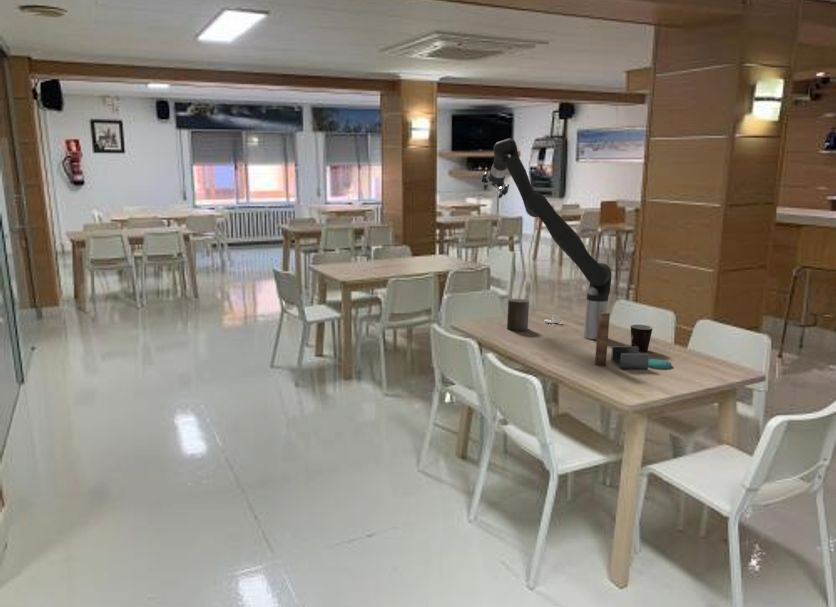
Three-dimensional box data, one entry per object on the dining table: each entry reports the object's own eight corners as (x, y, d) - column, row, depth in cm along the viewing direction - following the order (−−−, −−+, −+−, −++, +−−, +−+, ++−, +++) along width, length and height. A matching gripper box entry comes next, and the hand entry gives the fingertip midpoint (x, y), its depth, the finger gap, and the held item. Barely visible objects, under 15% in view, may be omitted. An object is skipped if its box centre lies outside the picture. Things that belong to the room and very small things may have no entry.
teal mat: (639, 361, 249) (639, 358, 249) (665, 361, 250) (665, 359, 249) (649, 368, 240) (649, 366, 239) (675, 369, 240) (675, 366, 240)
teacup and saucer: (542, 323, 312) (542, 315, 312) (550, 321, 318) (551, 313, 317) (557, 327, 307) (558, 318, 306) (566, 324, 312) (567, 316, 311)
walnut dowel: (593, 363, 246) (597, 312, 242) (603, 363, 246) (607, 312, 242) (596, 366, 242) (600, 314, 238) (607, 366, 242) (611, 314, 238)
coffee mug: (631, 346, 271) (633, 323, 269) (652, 349, 267) (654, 326, 265) (624, 352, 261) (626, 329, 260) (646, 356, 257) (648, 331, 255)
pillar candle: (508, 331, 295) (509, 299, 292) (505, 326, 304) (507, 295, 301) (529, 331, 295) (530, 299, 292) (526, 326, 304) (528, 295, 301)
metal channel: (610, 360, 250) (612, 345, 249) (636, 361, 250) (637, 346, 249) (621, 369, 238) (622, 354, 237) (647, 370, 239) (649, 354, 237)
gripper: (482, 168, 311) (477, 190, 325) (506, 183, 307) (500, 204, 321) (490, 159, 314) (485, 181, 328) (514, 174, 311) (508, 195, 325)
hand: (492, 192), depth 325 cm, fingers open, 8 cm apart
